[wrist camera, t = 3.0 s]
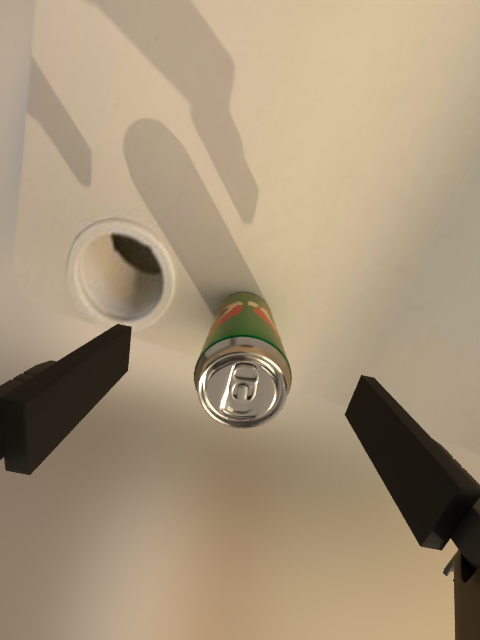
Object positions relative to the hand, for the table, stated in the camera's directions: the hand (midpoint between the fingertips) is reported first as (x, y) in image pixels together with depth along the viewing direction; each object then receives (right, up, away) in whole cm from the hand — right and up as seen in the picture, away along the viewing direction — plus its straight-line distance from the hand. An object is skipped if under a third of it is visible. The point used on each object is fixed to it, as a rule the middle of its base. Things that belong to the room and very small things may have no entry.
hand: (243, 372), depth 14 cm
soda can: (0, +3, +9) cm, 10 cm away
